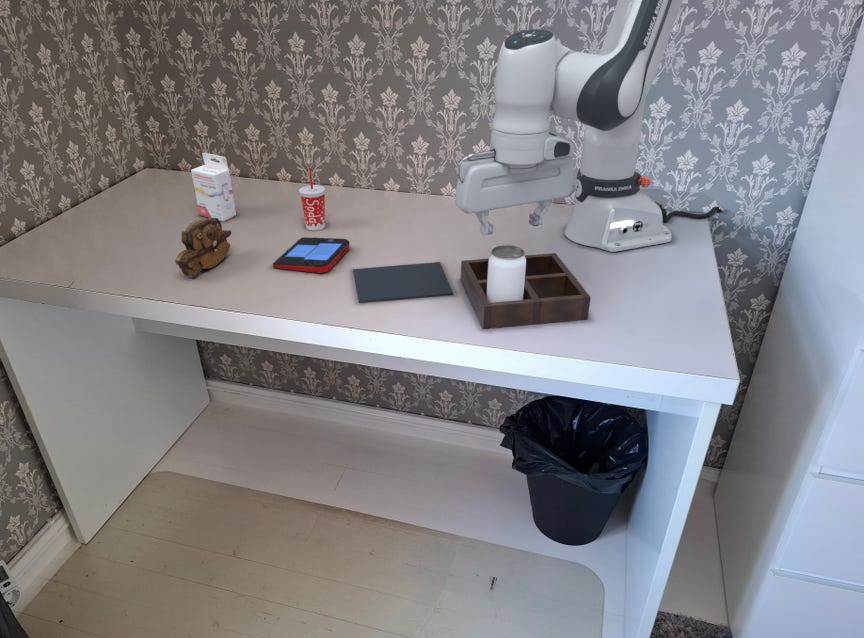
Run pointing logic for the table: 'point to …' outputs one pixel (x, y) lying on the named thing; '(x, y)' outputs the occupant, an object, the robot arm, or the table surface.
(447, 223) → the table surface
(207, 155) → the ink cartridge box
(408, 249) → the table surface
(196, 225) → the wooden carving
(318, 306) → the table surface
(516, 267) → the can
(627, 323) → the table surface
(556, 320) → the crate
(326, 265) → the game console
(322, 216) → the beverage cup
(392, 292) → the mat
